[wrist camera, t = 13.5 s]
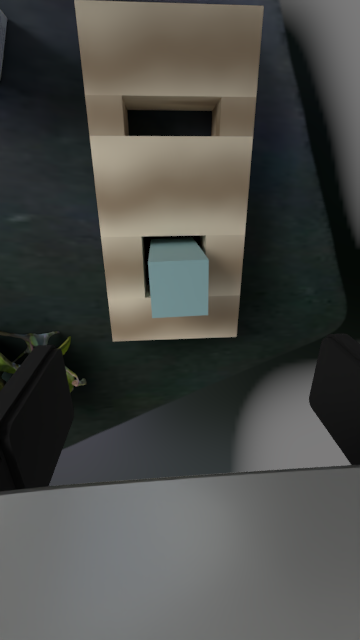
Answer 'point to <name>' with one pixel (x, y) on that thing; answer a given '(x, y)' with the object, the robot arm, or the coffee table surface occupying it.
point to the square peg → (178, 278)
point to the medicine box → (2, 36)
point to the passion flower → (4, 364)
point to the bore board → (170, 148)
